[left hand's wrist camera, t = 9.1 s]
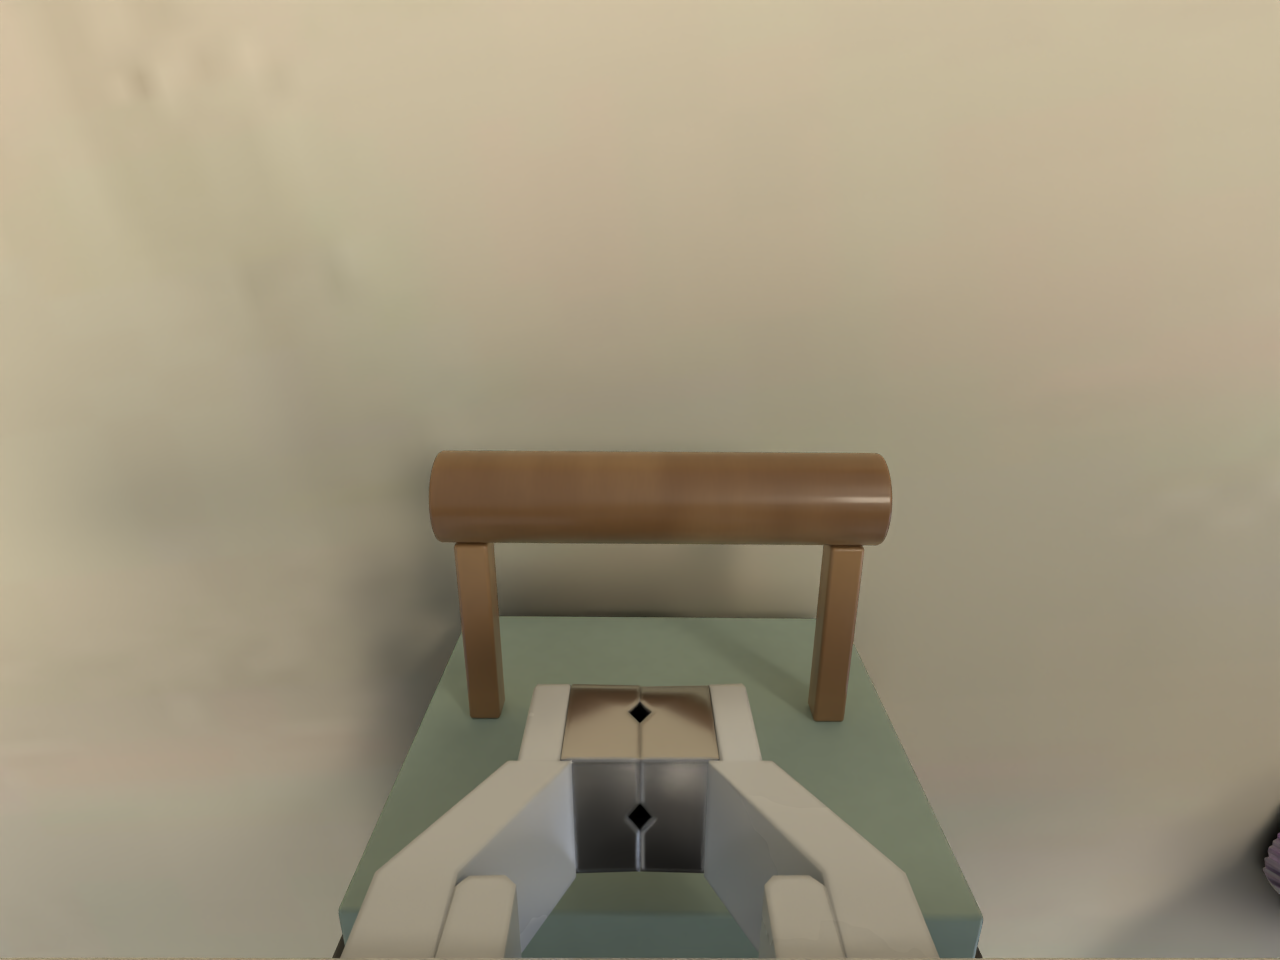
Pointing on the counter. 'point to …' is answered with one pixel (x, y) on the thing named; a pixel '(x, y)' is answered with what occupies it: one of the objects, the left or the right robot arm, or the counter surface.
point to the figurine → (1273, 865)
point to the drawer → (671, 673)
